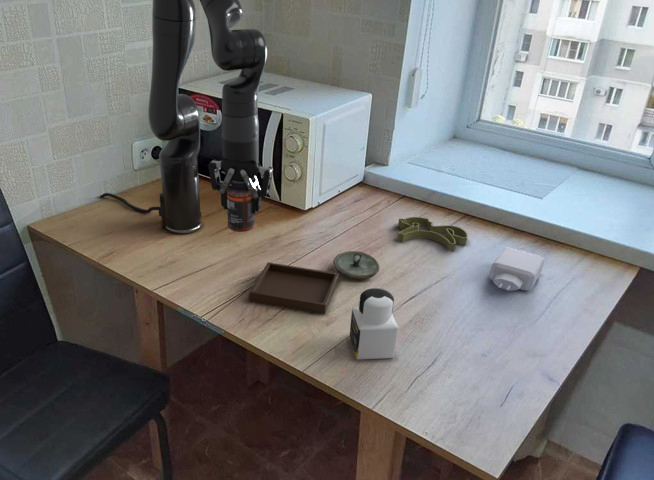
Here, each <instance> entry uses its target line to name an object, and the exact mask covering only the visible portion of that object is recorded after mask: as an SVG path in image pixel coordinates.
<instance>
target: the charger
mask: <svg viewBox="0 0 654 480" xmlns="http://www.w3.org/2000/svg"><path fill="white" fill-rule="evenodd" d="M544 264H545V258H544V257H543V256H541V255H539V254H536V253H531V252H528V251H524V250H520V249H516V248H513V247H504V248H503V249H502V250H501V251H500V253H499V254H498V255H497V257H496V258H495V259H494V260H493V262H492V263H491V265H490V269H489V275H488V278H489V279H490V281H492V282H493V284H494V285H495V286H496V287H497V288H498V289H502V290H506V291H508V292H509V291H510V292H512V291H518V290H522V291H531V290H532V289H533V287H534V285H535V284H536V282H537V281H538V278H539V277H540V275H541V273H542V272H543V267H544Z"/></svg>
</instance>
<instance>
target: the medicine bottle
mask: <svg viewBox="0 0 654 480" xmlns="http://www.w3.org/2000/svg"><path fill="white" fill-rule="evenodd" d="M394 302H395V297H394V296H393V294H392V293H391V292H390V291H388V290H385V289H383V288H377V287H373V288H367V289H366V290H363V291H362V292H361V293H360V295H359V302H358V303H359V306H356V307H355V306H354V307H352V309H351V316H350V327H349V336H348V337H349V341H350V343H351V344H350V345H351V347H352V350H353V353H354V356H355V359H356V360H358V361H359V360H377V359H378V360H379V359H393V358H395V353H396V347H397V339H398V331H399V326H398V323H397V322H396V319H395V317H394V315H393V311H394Z"/></svg>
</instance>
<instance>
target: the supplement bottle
mask: <svg viewBox="0 0 654 480" xmlns="http://www.w3.org/2000/svg"><path fill="white" fill-rule="evenodd" d="M252 198H253V196H252V193H251V191H250V190H249V189H248V187H247V185H246V183H245V182H243V181H235V180H231V185H230V187H229V188H228V190H227V210H226V211H227V213H226V214H227V227H228V229H230V230H231V231H233V232H236V233H245V232H249V231H251V230H253V229H254V227H255V223H256V222H255V220H256V219H255V214H253V213H252Z"/></svg>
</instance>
